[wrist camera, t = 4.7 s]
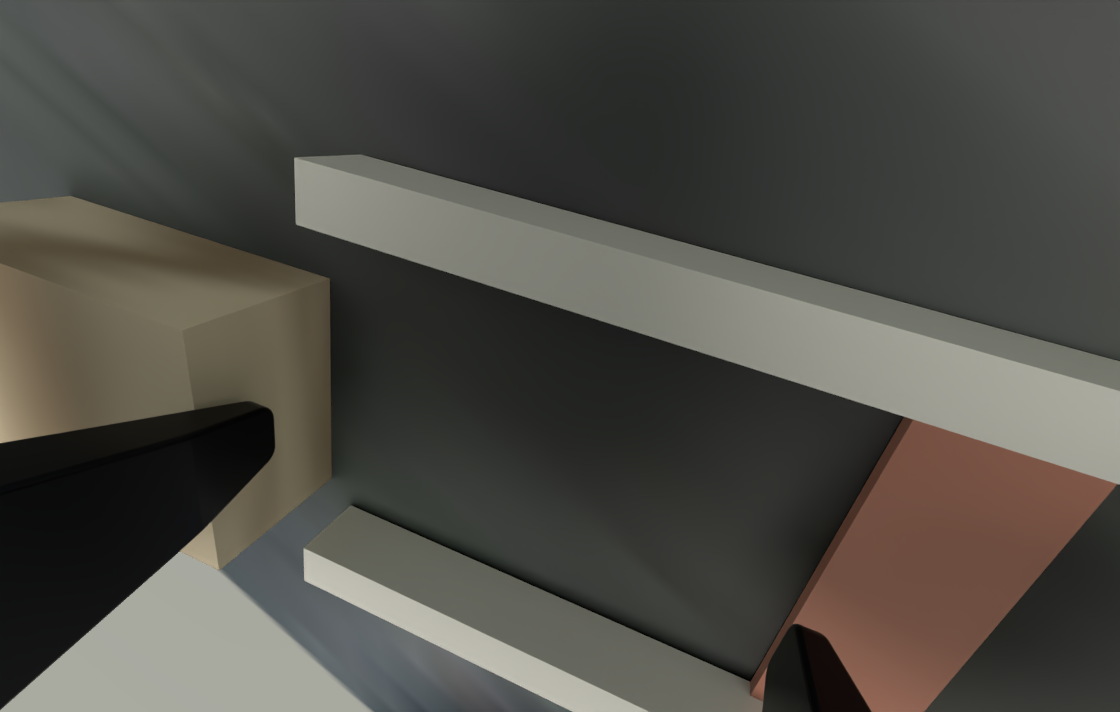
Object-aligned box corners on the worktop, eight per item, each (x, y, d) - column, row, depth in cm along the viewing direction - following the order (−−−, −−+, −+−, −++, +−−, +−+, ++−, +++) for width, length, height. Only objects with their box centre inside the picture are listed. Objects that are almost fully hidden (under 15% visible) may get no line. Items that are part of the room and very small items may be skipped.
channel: (1181, 377, 7) (1289, 439, 5) (859, 768, 10) (873, 858, 9) (360, 154, 9) (294, 157, 8) (350, 535, 13) (304, 580, 12)
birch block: (344, 273, 11) (182, 329, 8) (345, 466, 13) (219, 570, 10) (90, 193, 12) (-129, 215, 9) (129, 379, 14) (-37, 446, 11)
